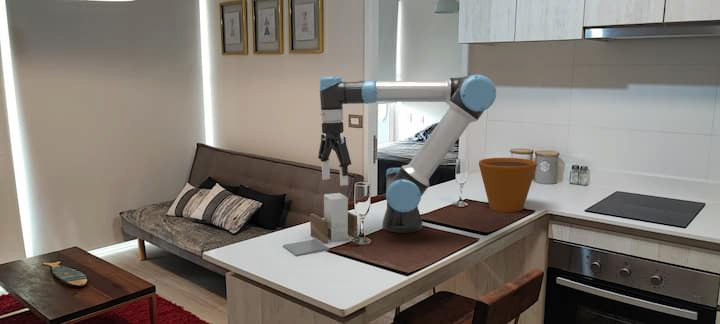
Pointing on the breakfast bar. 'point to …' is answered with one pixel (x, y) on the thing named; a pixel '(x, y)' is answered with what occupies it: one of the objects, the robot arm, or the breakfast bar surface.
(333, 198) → the skincare box
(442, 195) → the breakfast bar surface
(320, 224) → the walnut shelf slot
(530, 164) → the flower pot
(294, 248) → the slate coaster
